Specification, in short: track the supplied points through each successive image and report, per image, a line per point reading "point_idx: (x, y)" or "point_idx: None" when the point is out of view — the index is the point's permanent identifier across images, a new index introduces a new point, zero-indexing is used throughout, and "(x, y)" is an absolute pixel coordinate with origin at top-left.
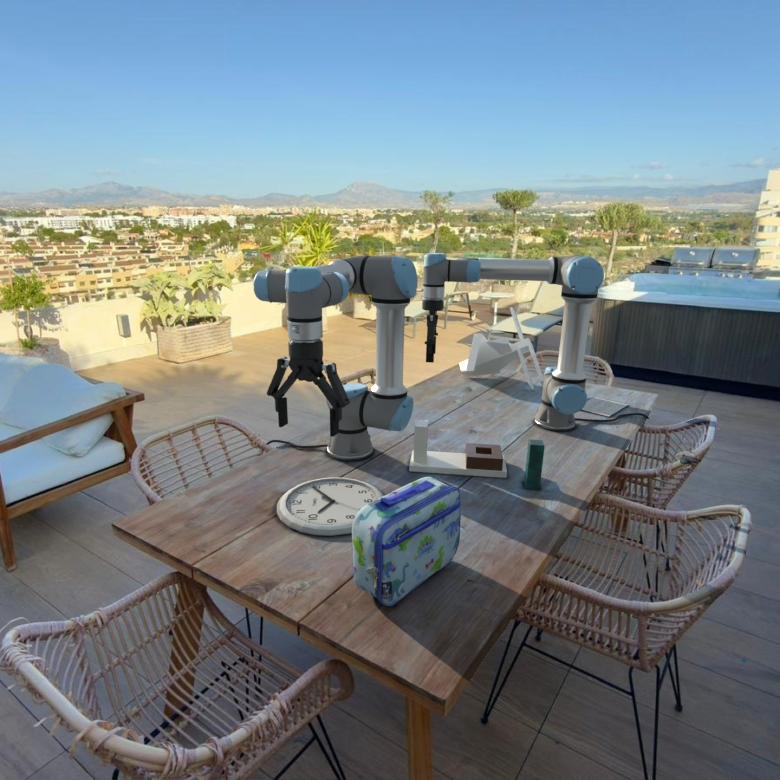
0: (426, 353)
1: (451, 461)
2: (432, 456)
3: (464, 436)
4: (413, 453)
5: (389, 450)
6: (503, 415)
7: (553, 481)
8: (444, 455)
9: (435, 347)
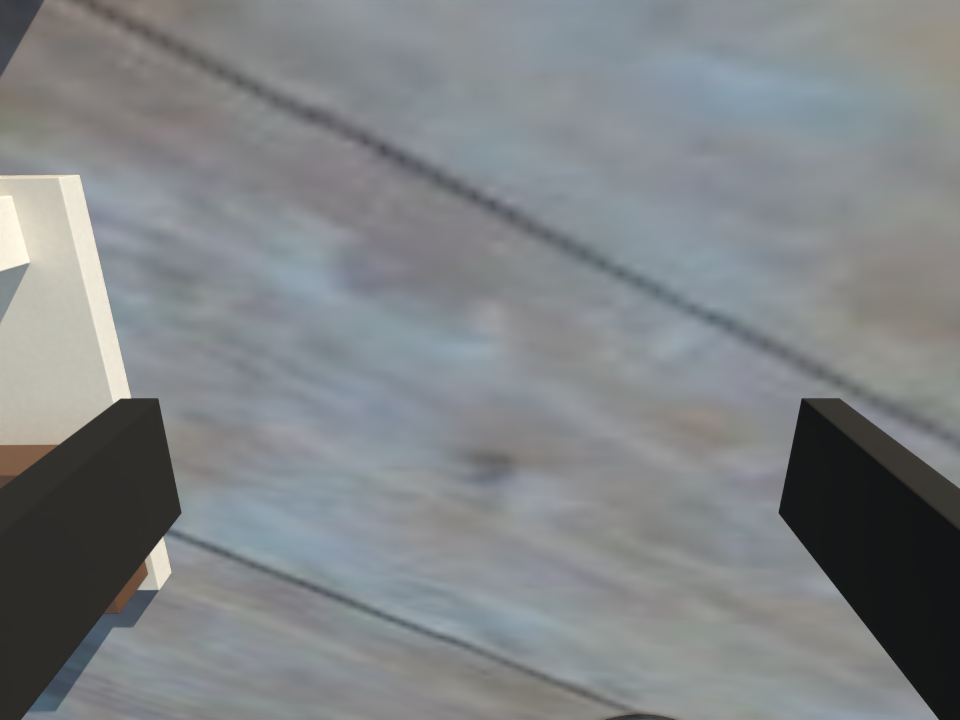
0: (13, 489)
1: (1, 384)
2: (19, 292)
3: (415, 429)
4: (13, 187)
5: (98, 26)
6: (738, 607)
7: (63, 703)
8: (57, 350)
9: (840, 588)
